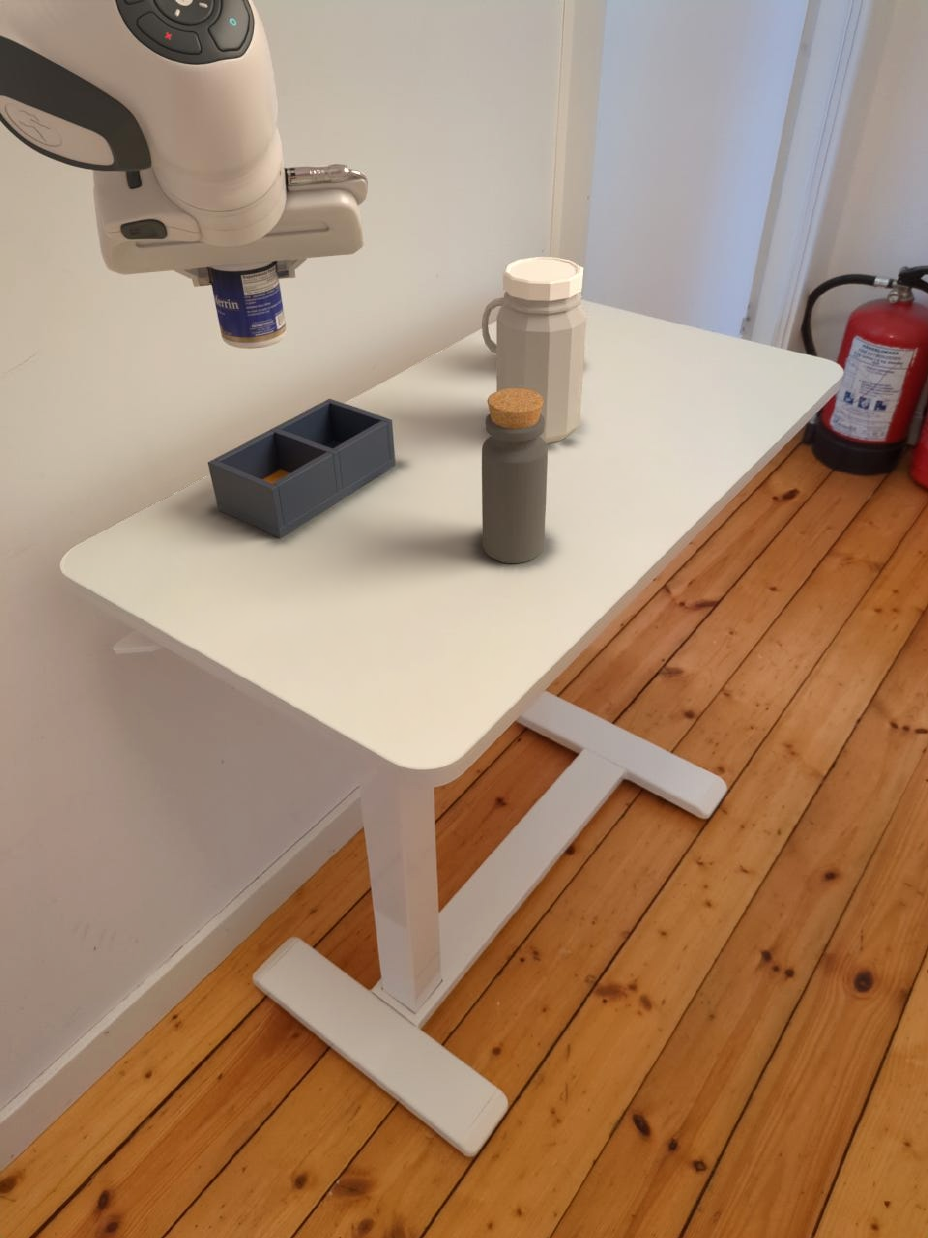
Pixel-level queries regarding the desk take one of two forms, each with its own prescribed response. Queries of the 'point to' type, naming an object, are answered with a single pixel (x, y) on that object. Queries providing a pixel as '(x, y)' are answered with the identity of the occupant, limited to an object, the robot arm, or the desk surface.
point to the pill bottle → (248, 304)
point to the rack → (302, 466)
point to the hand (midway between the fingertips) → (243, 274)
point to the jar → (543, 338)
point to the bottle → (514, 476)
